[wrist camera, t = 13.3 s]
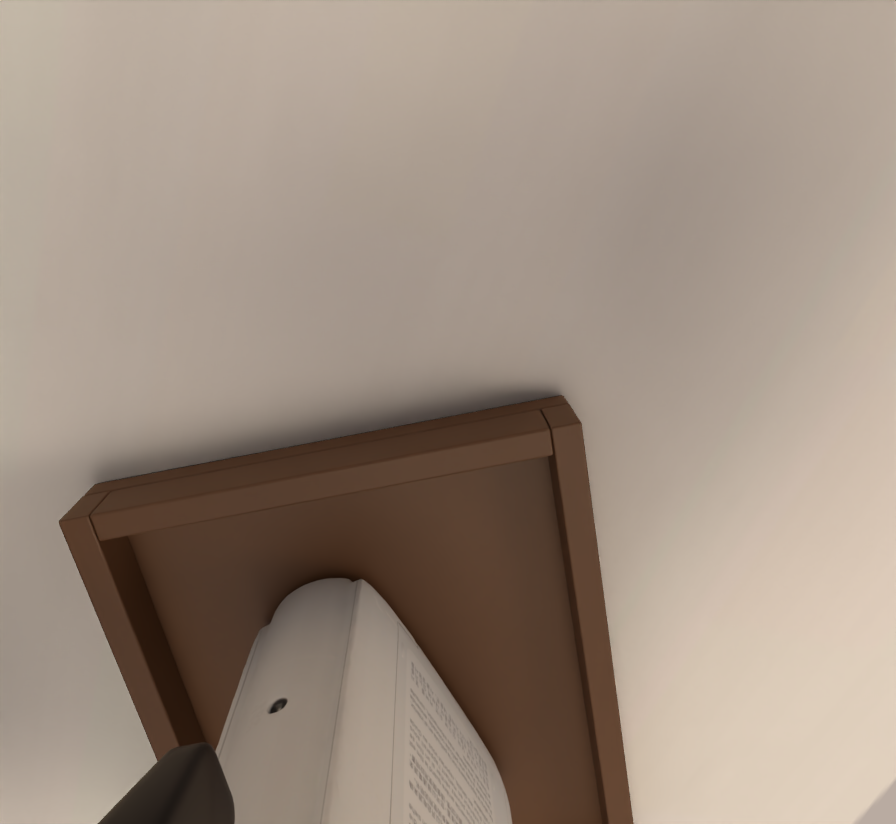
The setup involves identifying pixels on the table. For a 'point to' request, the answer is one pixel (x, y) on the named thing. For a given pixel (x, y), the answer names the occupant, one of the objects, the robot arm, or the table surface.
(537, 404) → the tray
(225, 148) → the table surface
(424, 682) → the photo printer
